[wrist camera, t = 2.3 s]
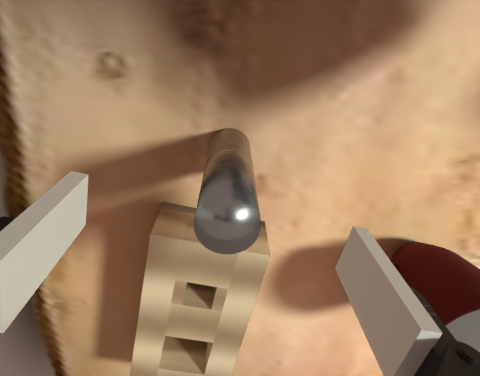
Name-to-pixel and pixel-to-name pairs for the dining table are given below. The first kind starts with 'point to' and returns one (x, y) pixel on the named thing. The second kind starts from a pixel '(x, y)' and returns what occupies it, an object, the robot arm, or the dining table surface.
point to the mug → (444, 287)
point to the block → (194, 300)
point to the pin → (228, 196)
